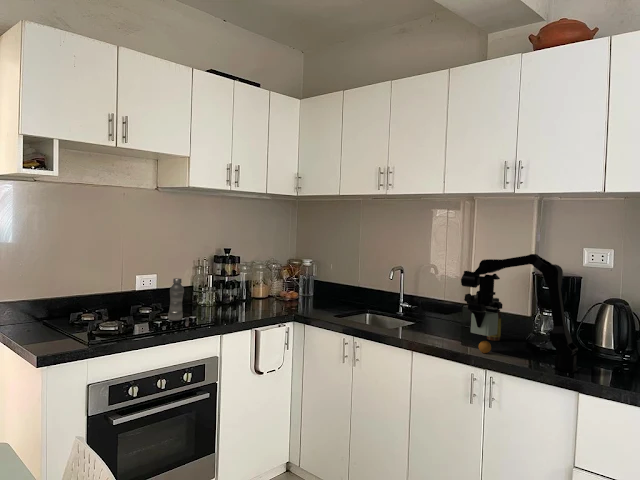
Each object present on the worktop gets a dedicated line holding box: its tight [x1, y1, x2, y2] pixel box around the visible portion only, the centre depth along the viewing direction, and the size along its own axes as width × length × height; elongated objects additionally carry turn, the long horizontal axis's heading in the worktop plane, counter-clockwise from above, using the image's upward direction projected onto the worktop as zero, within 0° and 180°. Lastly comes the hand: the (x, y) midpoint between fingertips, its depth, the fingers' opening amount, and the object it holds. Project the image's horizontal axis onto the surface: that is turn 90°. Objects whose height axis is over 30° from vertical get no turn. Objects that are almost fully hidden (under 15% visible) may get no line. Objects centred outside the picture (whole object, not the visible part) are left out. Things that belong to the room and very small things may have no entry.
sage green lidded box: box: [470, 310, 498, 337], centre depth 207 cm, size 8×8×9 cm
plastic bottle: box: [167, 277, 185, 322], centre depth 234 cm, size 6×7×20 cm
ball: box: [478, 340, 492, 354], centre depth 206 cm, size 5×5×5 cm
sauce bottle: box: [486, 297, 502, 342], centre depth 233 cm, size 6×6×20 cm
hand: (483, 326), depth 207 cm, fingers closed on sage green lidded box, 8 cm apart
